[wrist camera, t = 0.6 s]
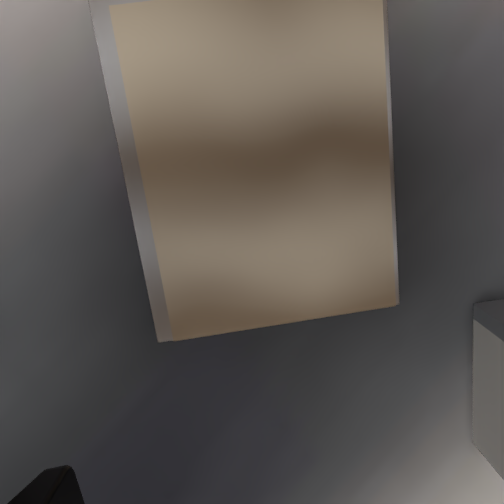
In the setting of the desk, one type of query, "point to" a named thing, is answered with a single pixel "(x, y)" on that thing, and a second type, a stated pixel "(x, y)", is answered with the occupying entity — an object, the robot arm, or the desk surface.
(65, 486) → the robot arm
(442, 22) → the desk surface
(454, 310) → the desk surface
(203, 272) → the stand
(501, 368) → the block
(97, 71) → the desk surface
